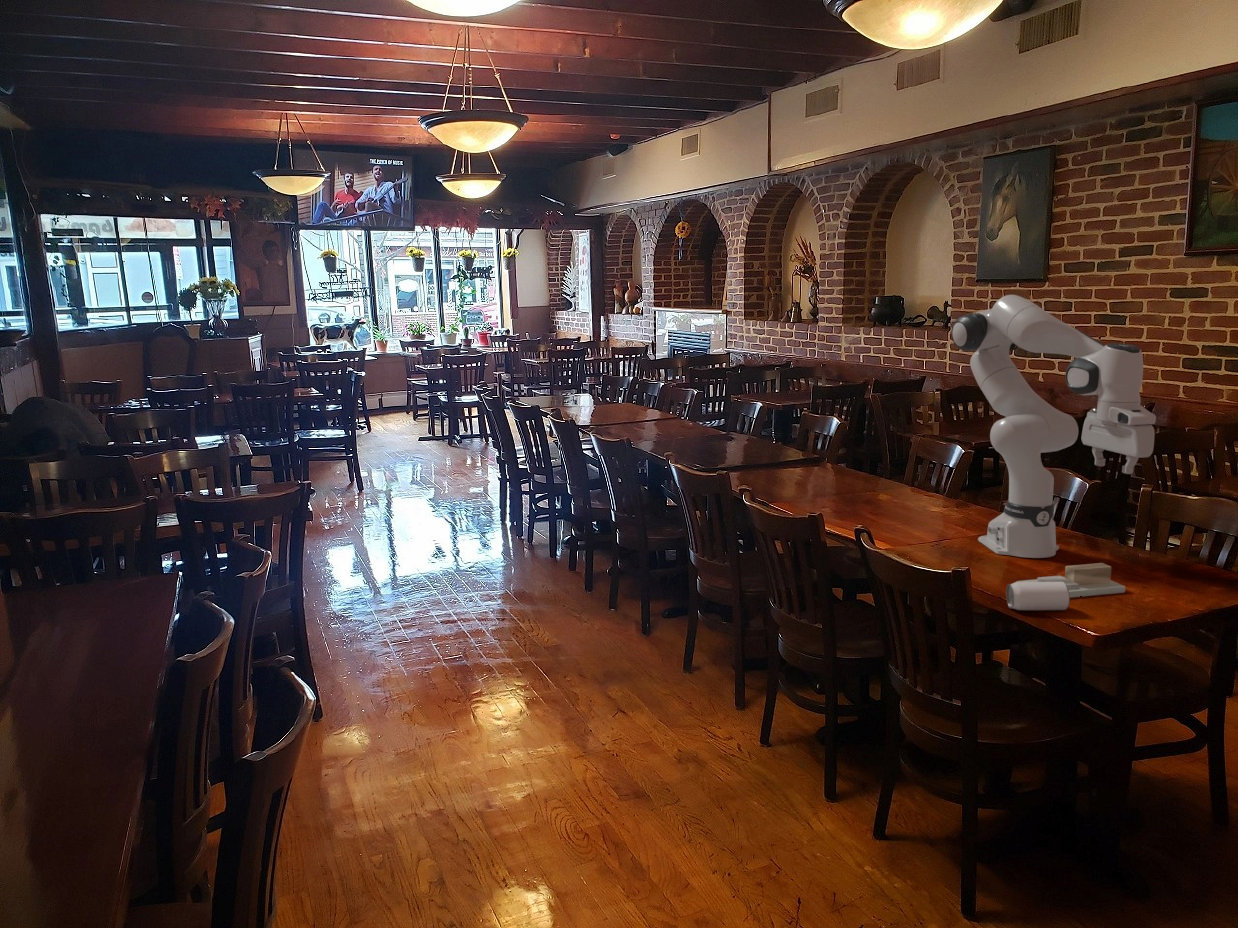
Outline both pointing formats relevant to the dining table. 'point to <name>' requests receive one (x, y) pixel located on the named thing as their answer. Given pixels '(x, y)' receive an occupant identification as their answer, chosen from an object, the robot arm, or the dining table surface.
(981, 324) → the robot arm
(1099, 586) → the rest board
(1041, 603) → the can
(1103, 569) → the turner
